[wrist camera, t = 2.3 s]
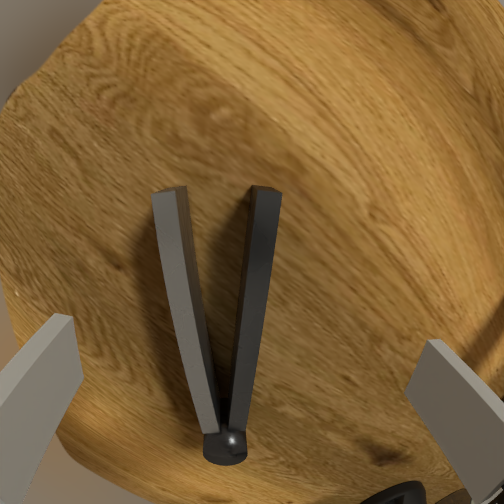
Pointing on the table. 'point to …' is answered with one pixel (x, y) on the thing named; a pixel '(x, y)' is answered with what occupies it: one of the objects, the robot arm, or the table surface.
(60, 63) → the table surface
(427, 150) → the table surface
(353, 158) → the table surface
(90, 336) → the table surface
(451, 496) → the brown lidded jar
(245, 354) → the blade
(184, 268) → the bar
